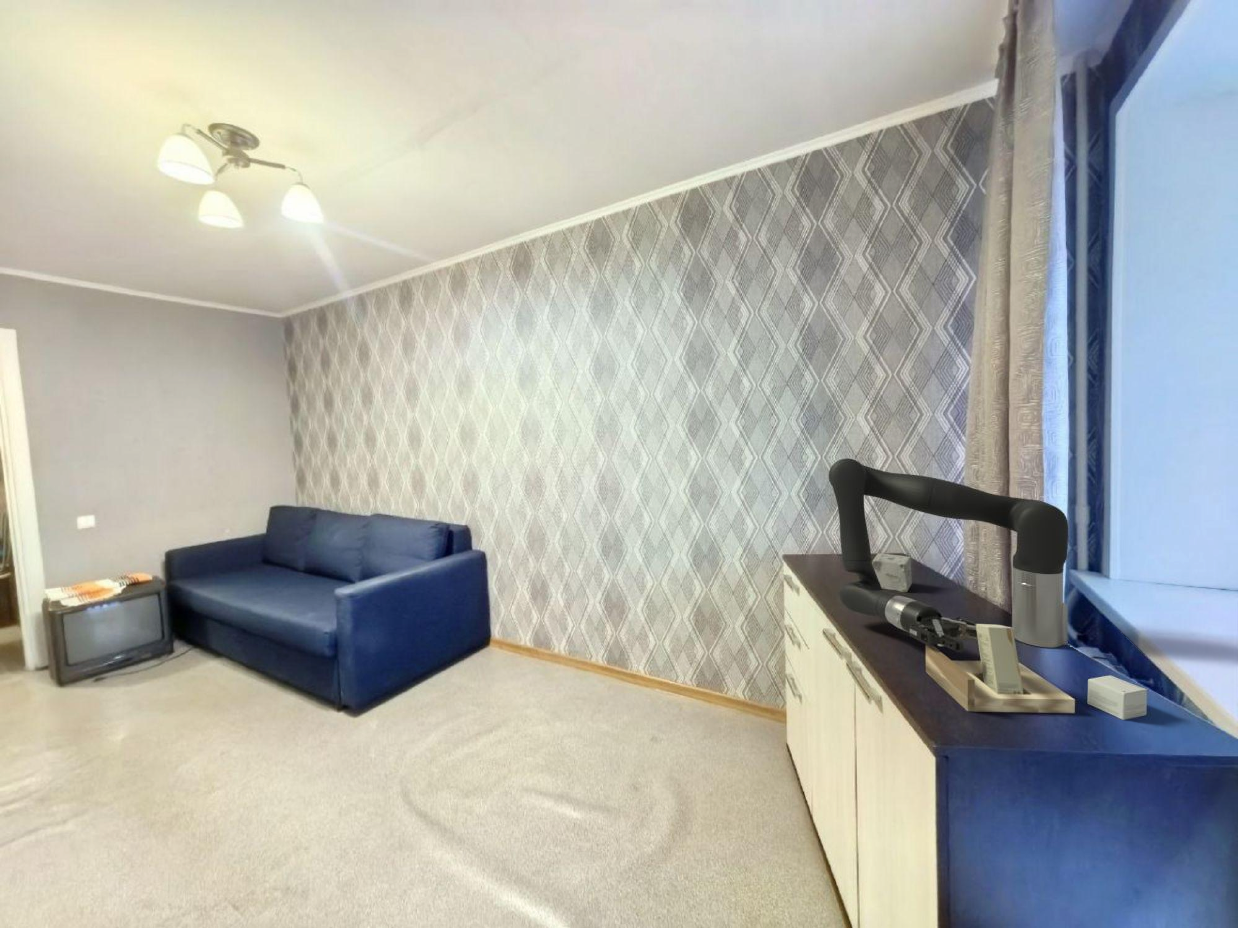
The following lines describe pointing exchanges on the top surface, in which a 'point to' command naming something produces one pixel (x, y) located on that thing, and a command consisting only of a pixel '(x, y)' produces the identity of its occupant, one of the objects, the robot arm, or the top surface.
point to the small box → (1117, 697)
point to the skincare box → (999, 659)
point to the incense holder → (893, 571)
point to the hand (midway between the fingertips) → (979, 644)
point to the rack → (976, 696)
